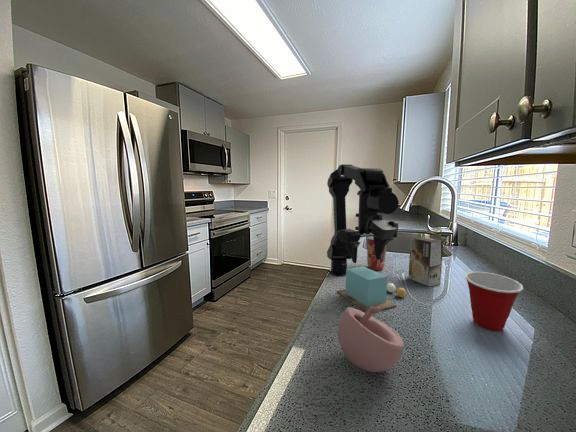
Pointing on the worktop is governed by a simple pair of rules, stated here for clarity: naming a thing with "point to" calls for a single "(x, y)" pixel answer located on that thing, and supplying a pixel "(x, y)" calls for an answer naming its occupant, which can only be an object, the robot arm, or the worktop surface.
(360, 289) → the light blue block
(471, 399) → the worktop surface
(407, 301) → the worktop surface
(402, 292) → the amber egg
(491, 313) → the plastic cup
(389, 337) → the mortar and pestle
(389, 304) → the walnut board
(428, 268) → the coffee box
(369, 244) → the smoothie
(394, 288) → the white egg
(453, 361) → the worktop surface
